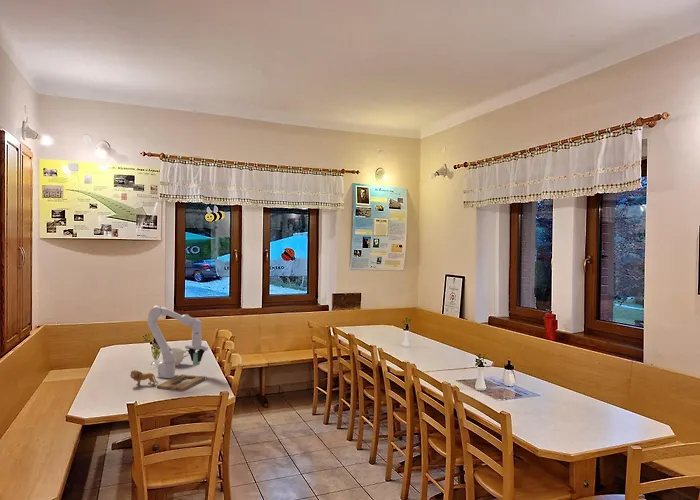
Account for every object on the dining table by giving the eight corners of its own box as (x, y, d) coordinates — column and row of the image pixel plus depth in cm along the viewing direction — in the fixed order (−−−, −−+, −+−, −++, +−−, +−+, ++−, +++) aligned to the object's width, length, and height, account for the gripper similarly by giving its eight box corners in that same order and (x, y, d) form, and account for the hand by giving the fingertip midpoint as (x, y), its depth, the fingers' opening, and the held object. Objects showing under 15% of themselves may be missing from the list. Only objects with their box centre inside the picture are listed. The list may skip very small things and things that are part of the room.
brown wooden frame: (157, 388, 275) (157, 385, 275) (181, 376, 298) (182, 374, 298) (182, 391, 271) (182, 388, 271) (205, 379, 294) (205, 376, 294)
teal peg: (191, 364, 301) (191, 353, 301) (195, 363, 305) (195, 352, 305) (197, 365, 300) (197, 354, 300) (200, 363, 304) (201, 352, 304)
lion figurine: (130, 387, 275) (130, 371, 275) (130, 385, 280) (130, 369, 279) (158, 384, 281) (158, 369, 281) (157, 382, 286) (157, 366, 286)
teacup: (189, 366, 323) (189, 351, 322) (165, 367, 318) (165, 352, 318) (189, 361, 334) (189, 347, 334) (166, 362, 330) (166, 348, 329)
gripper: (210, 338, 304) (210, 360, 304) (190, 337, 308) (189, 358, 308) (204, 341, 297) (204, 363, 297) (183, 339, 301) (183, 361, 301)
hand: (196, 361), depth 302 cm, fingers closed on teal peg, 4 cm apart
